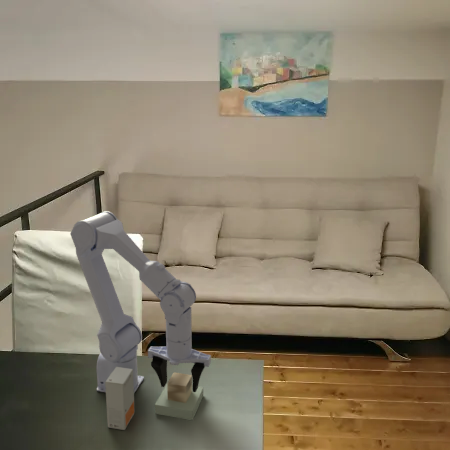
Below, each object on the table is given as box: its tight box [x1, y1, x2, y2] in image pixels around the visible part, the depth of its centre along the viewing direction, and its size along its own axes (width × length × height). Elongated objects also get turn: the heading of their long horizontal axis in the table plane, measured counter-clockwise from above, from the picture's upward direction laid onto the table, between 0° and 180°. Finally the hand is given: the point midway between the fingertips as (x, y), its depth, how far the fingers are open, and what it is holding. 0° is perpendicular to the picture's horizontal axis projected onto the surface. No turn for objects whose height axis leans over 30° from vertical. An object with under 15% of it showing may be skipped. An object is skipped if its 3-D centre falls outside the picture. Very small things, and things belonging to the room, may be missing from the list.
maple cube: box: [166, 371, 193, 403], centre depth 118 cm, size 4×4×4 cm
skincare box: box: [105, 367, 135, 431], centre depth 112 cm, size 6×4×12 cm
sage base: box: [154, 383, 204, 421], centre depth 119 cm, size 9×9×2 cm
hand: (179, 387), depth 118 cm, fingers open, 7 cm apart
